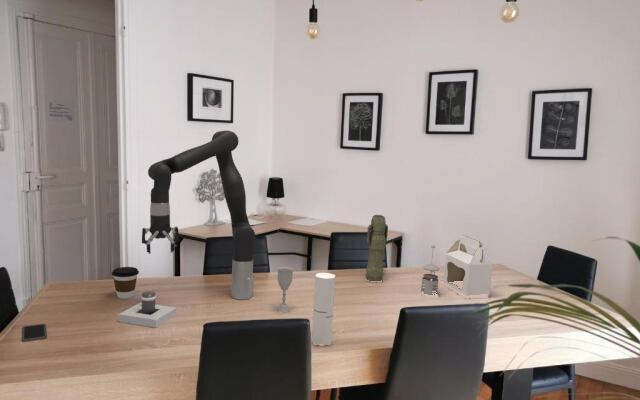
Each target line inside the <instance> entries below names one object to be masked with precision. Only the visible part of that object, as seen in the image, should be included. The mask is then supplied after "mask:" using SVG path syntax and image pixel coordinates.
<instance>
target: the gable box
mask: <svg viewBox="0 0 640 400" xmlns="http://www.w3.org/2000/svg"><path fill="white" fill-rule="evenodd" d="M483 245H484V243H481V241H480V240H477V239H474V238H471V237H469V236H467V235H463V234H461V235H460V239H458V240H456V241H455V242H454V244H453V245H452V246H451V247H450V248H449V249H448V251H447V252H446V253H445V260H444V271H443V278H442V279H443V280H442V281H443V282H444V283H446V284H447V285H449V286H451V287H453V288H454V289H456V290H458V291H459V292H461V293H463V294H464V295H466V296H468V295H469V296H470V295H480V294H489V295H490V294H491V293H490V292H491V284H492V273H493V263H492V261H491V259H490V258H489V256H488V254H487V252H486V250H485V249H484V248H483ZM466 247H469V248H471V249H473V250H475V252H474V254H470V253H468V251H467V248H466ZM454 281H463V287H462V289H460V288H458V286H457V285H455V284H453V283H449V282H454Z"/></svg>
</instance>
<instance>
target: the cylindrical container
mask: <svg viewBox="0 0 640 400" xmlns="http://www.w3.org/2000/svg"><path fill="white" fill-rule="evenodd" d="M314 278H315V279H314V293H313V294H314V295H313V296H314V297H313V311H312V312H313V313H312V327H311V328H312V329H311V343H312V342H313V343H315V344H323V345H325V344H329V343H331V344H332V340H333V339H332V335H333V334H332V333H333V323H334V321H333V319H334V306H335V305H334V304H335V289H336V275H335V274H334V273H330V272H318V273H316V274H315V277H314Z"/></svg>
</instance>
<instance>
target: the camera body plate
mask: <svg viewBox="0 0 640 400" xmlns="http://www.w3.org/2000/svg"><path fill="white" fill-rule="evenodd" d="M175 316H177V307H173V306H166V305H160V304H155V313H153V314H152V315H148V314H142V301H141V302H139V303H137V304H135V305H133V306H131V307H129V308H128V309H126V310H124V311H122V312H120V313H118V322H119V323H124V324H131V325H136V326H143V327H149V328H158V327H160V326H161V325H163V324H165V323H167V321H168V322H169V320H171V319H172V318H174V317H175Z"/></svg>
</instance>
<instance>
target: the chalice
mask: <svg viewBox="0 0 640 400" xmlns="http://www.w3.org/2000/svg"><path fill="white" fill-rule="evenodd" d="M276 269H277V283H278V285H279V287H280V290H282V294H281V295H282V297H281V300H282V303H281V304H279V306H278V308H277V311H278V312H281V313H287V312H289V311H290V309H289V305H288V304H287V303H286V300H287V298H286V295H287V294H286V291H288V290H289V288H290V286H291V284H292V281H293V272H294V270H295V269H294V268H293V267H292V266H291V267H290V266H278V267H277V268H276Z"/></svg>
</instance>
